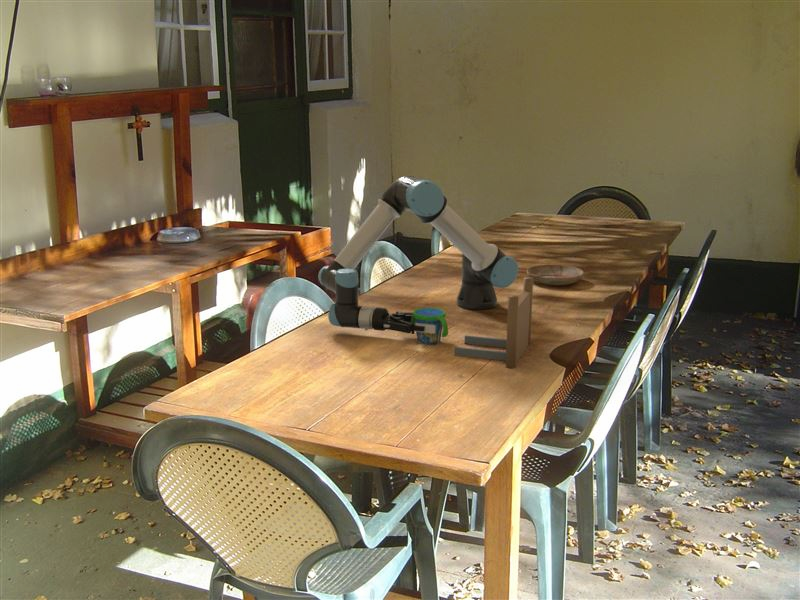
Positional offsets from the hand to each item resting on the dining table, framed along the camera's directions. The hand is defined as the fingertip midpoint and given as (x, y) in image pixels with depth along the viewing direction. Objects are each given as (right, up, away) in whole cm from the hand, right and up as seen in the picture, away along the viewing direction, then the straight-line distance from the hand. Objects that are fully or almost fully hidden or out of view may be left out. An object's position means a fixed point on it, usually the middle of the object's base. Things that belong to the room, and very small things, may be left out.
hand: (439, 324), depth 303 cm
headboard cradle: (+16, -8, -8) cm, 20 cm away
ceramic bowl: (+51, +15, +82) cm, 98 cm away
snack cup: (-3, -6, +3) cm, 7 cm away
